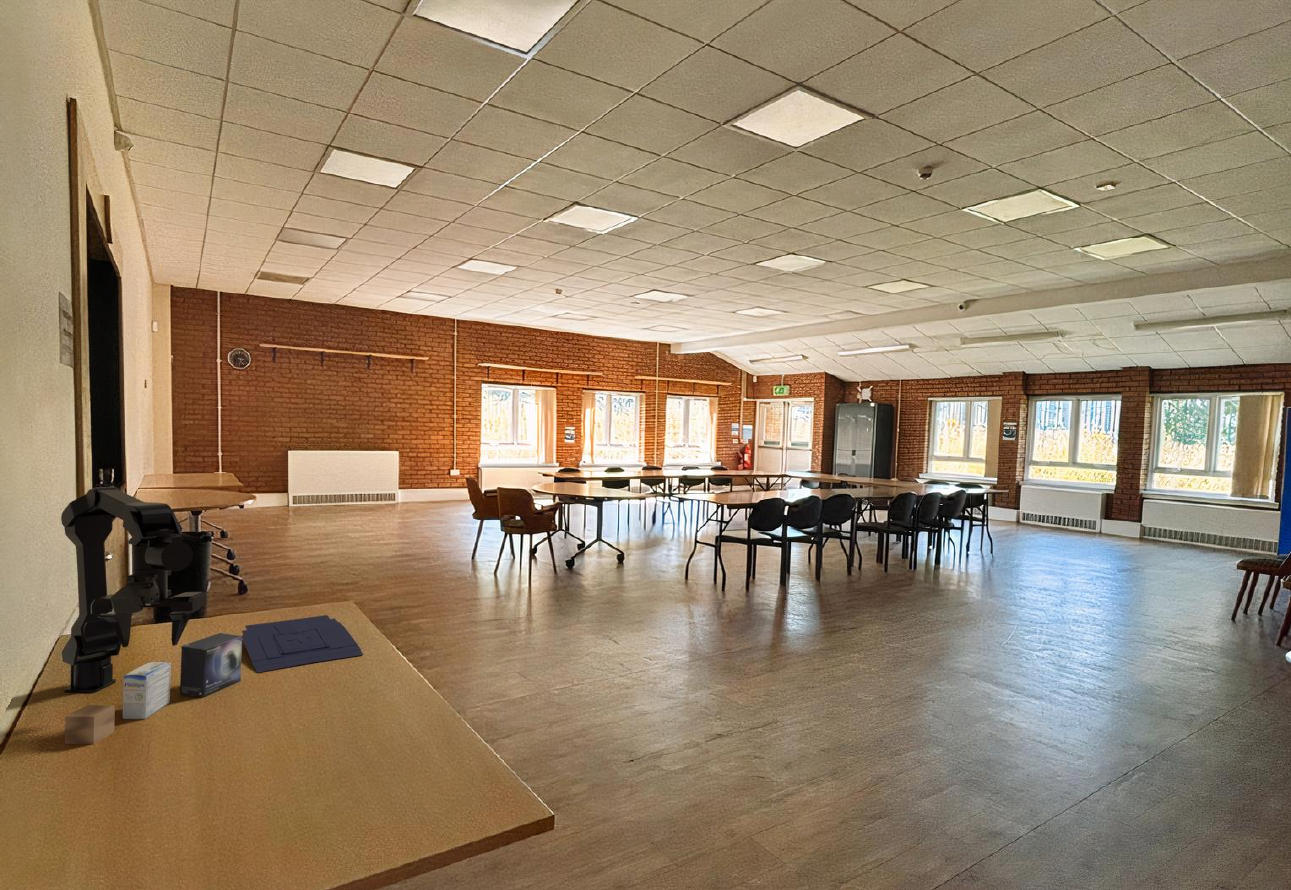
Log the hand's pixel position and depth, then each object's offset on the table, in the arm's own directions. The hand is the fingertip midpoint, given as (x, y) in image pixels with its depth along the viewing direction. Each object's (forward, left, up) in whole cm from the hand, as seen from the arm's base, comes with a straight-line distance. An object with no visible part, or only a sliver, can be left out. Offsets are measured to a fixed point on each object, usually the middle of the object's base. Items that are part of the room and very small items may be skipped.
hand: (150, 646), depth 137 cm
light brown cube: (-3, -12, -13) cm, 18 cm away
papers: (+10, +41, -14) cm, 45 cm away
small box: (+4, +13, -13) cm, 19 cm away
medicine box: (-1, 0, -13) cm, 13 cm away
